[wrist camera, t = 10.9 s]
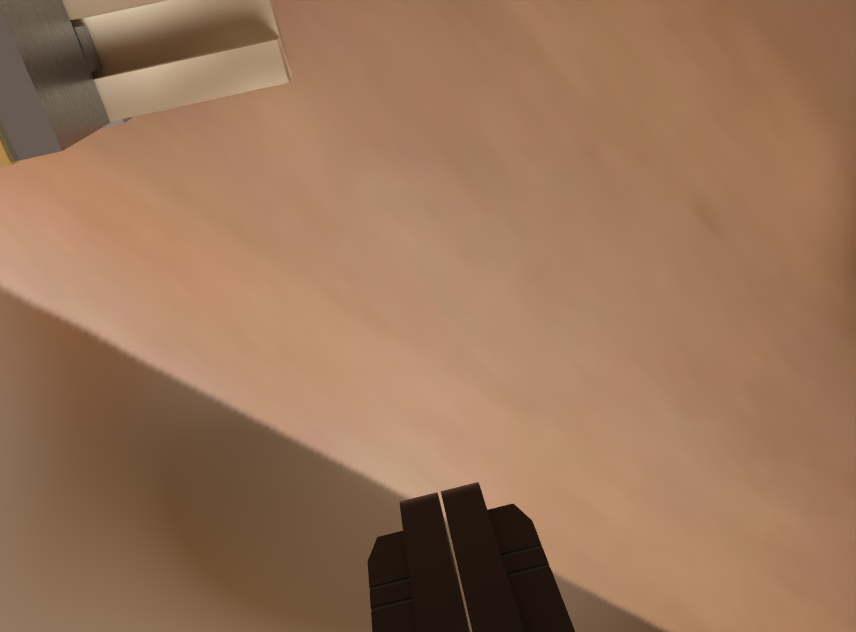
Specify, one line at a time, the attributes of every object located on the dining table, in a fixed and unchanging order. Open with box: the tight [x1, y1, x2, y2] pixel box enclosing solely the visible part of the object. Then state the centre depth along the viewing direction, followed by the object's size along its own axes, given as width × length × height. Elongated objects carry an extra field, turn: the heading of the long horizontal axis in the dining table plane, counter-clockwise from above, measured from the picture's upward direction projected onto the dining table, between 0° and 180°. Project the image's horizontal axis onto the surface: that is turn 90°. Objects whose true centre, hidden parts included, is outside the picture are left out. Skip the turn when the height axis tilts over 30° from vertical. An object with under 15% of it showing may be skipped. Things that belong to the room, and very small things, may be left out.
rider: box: [0, 0, 110, 167], centre depth 26 cm, size 6×4×8 cm, turn 11°
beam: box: [62, 0, 292, 128], centre depth 31 cm, size 7×21×6 cm, turn 101°
